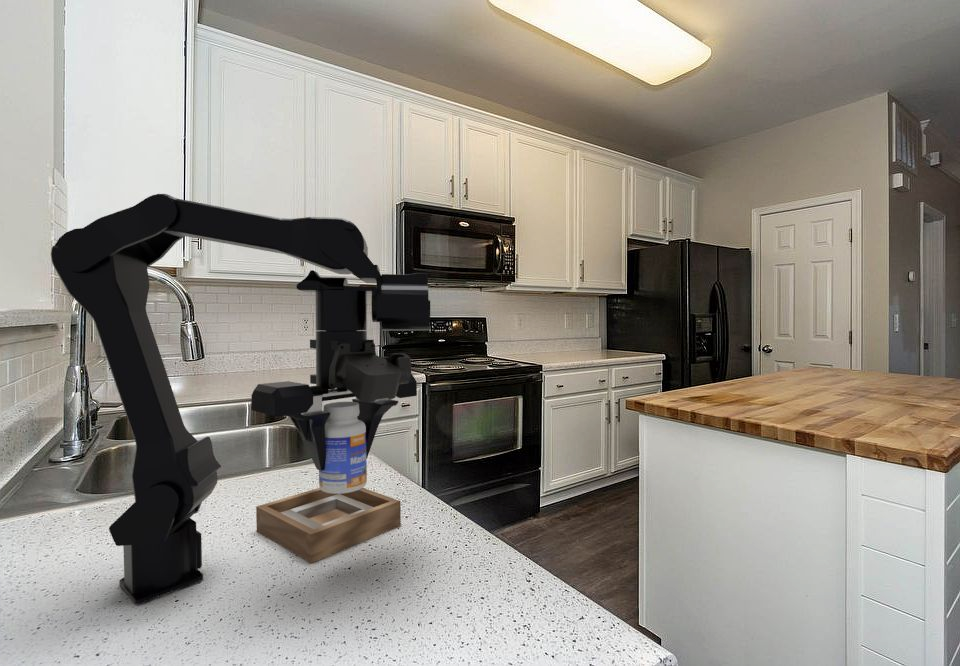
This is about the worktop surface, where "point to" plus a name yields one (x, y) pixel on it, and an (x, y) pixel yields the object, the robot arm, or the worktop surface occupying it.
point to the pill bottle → (344, 450)
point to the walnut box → (327, 521)
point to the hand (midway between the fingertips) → (342, 464)
